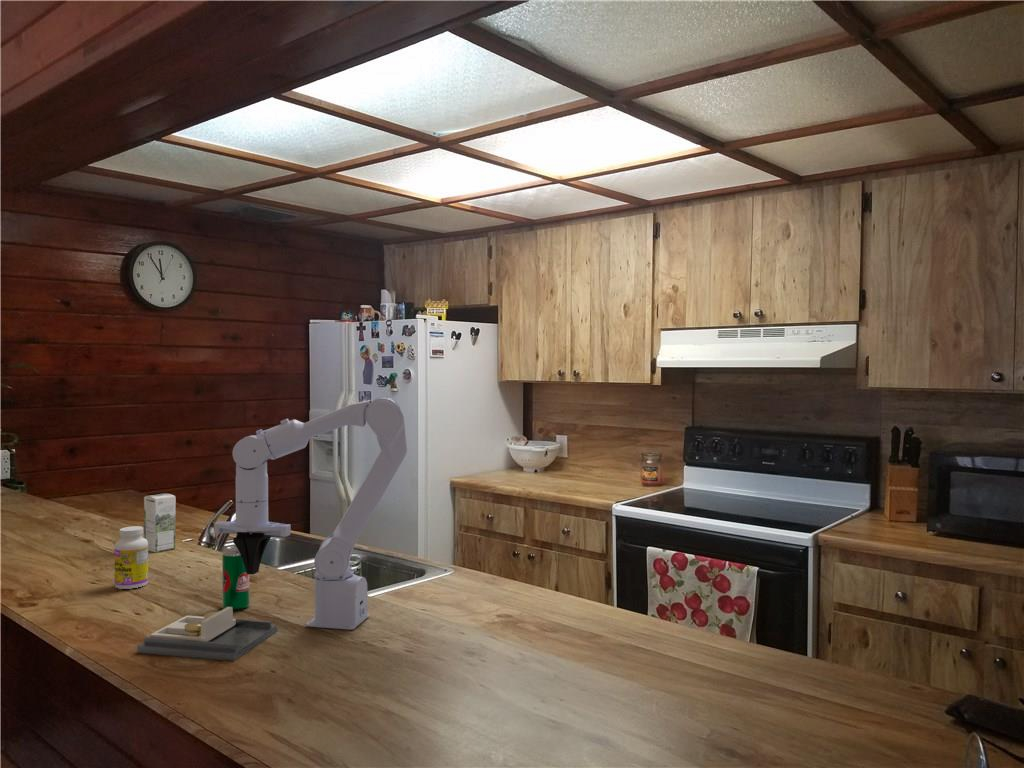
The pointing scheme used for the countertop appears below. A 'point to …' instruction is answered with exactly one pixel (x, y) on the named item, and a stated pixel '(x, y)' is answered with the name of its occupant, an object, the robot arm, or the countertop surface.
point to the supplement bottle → (131, 559)
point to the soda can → (234, 580)
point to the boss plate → (212, 641)
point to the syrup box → (160, 522)
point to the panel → (208, 626)
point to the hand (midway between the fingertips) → (252, 572)
